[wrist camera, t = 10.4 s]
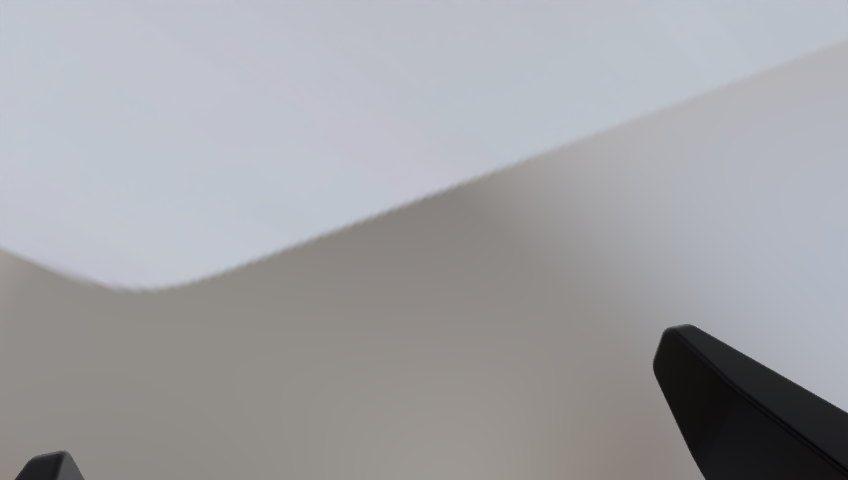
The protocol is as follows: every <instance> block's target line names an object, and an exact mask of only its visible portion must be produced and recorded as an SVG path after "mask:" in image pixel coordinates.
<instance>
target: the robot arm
mask: <svg viewBox="0 0 848 480" xmlns="http://www.w3.org/2000/svg"><path fill="white" fill-rule="evenodd" d="M653 370H654V374H655V376H656V379H657V381H658V383H659V386H660V388H661V390H662V392H663V394H664V396H665V399H666V401H667V403H668V405H669V407H670V410H671V412H672V414H673V416H674V418H675V420H676V423H677V425H678V427H679V429H680V431H681V434H682V436H683V438H684V440H685V442H686V444H687V446H688V448H689V451H690V453H691V455H692V457H693V458H694V460H695V462H696V464H697V466H698V467H699V469H700V471H701V473H702V474H703V476H704V477H705V479H706V480H848V413H847V412H845V411H843V410H841V409H840V408H838V407H836V406H834V405H833V404H831V403H829V402H827V401H826V400H824V399H822V398H820V397H819V396H817V395H815V394H813V393H812V392H810V391H808V390H806V389H804V388H803V387H801V386H799V385H798V384H796V383H794V382H792V381H791V380H789V379H787V378H785V377H784V376H782V375H780V374H778V373H776V372H775V371H773V370H771V369H769V368H767V367H766V366H764V365H762V364H760V363H759V362H757V361H755V360H753V359H752V358H750V357H748V356H746V355H745V354H743V353H741V352H739V351H738V350H736V349H734V348H732V347H731V346H729V345H727V344H725V343H724V342H722V341H720V340H718V339H717V338H715V337H713V336H711V335H709V334H708V333H706V332H704V331H702V330H701V329H699V328H697V327H695V326H693V325H690V324H684V325H678V326H673V327H669V328H667V329H666V330H664V332H663V334H662V336H661V340H660V342H659V345H658V348H657V351H656V354H655V356H654V359H653ZM15 480H84V478H83V476H82V474H81V473H80V471H79V469H78V467H77V465H76V463H75V462H74V460H73V458H72V456H71V455H70V454H69V453H68V452H66V451H57V452H52V453H48V454H42V455H38V456H35V457H34V458H32V459H31V460H30V461H28V463H27V464H26V465H25V467H24V468H23V470H22V471H21V472H20V473H19V475H18V476H17V477H16V479H15Z"/></svg>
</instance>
